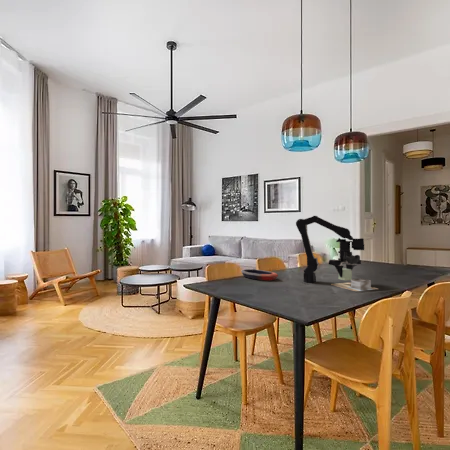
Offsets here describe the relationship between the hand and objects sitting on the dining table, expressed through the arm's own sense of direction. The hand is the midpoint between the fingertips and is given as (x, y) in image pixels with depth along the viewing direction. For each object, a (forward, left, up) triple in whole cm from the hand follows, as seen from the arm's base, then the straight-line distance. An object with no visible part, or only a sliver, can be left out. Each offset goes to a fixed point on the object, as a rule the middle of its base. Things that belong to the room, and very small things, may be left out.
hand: (344, 276), depth 183 cm
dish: (-35, +41, -6) cm, 54 cm away
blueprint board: (0, -7, -5) cm, 9 cm away
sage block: (0, 0, -2) cm, 2 cm away
